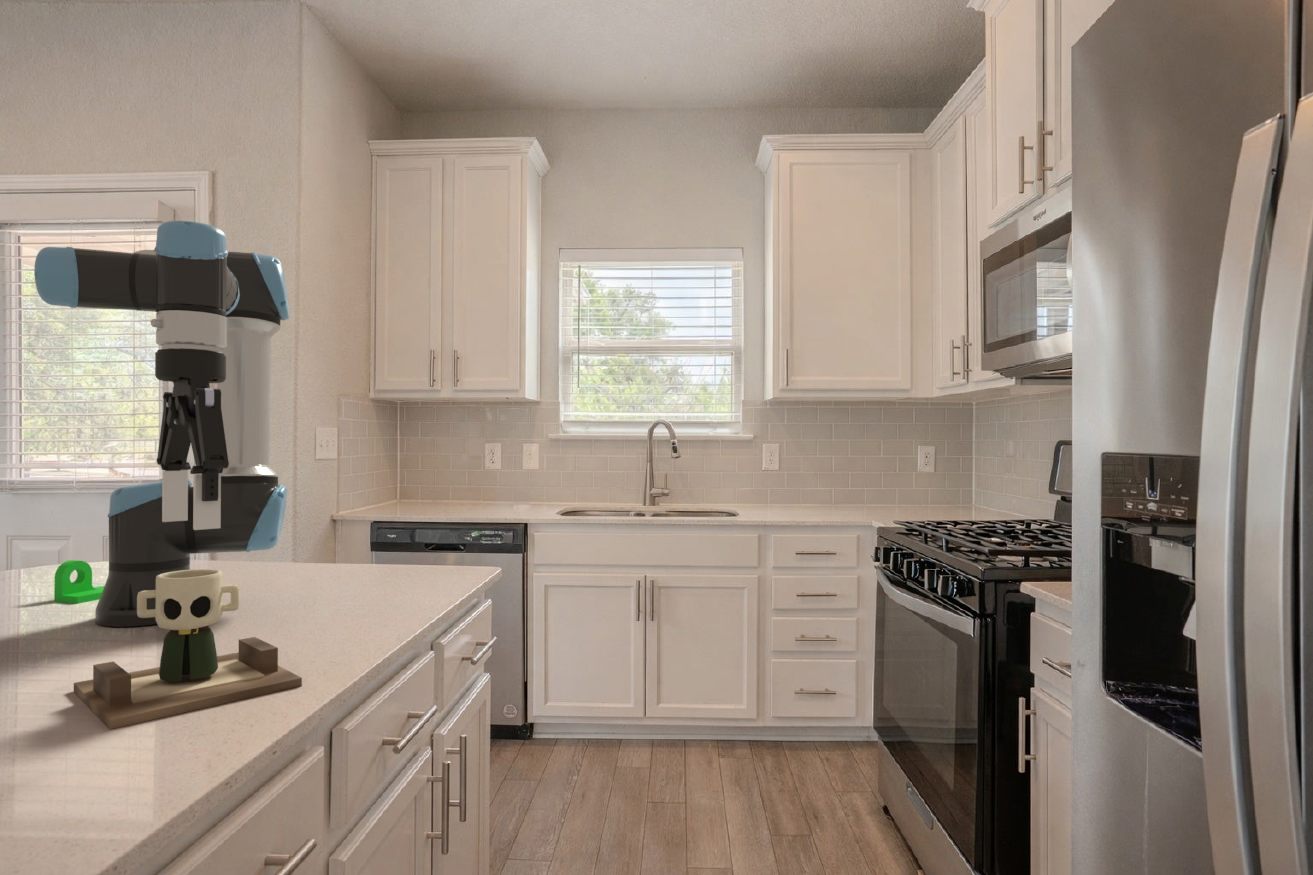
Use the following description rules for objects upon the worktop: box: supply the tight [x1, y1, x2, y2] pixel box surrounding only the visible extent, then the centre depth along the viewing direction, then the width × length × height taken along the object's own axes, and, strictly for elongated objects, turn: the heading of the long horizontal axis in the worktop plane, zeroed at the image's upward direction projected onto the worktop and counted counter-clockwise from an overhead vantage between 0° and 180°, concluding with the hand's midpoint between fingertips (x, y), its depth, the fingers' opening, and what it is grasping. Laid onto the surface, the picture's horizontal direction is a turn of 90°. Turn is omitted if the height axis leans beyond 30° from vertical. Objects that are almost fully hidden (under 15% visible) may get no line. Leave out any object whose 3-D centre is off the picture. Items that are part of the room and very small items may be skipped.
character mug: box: [137, 568, 240, 681], centre depth 95 cm, size 11×7×13 cm, turn 115°
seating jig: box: [73, 636, 303, 730], centre depth 95 cm, size 18×20×4 cm
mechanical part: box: [53, 559, 105, 605], centre depth 147 cm, size 12×6×8 cm, turn 162°
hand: (190, 525), depth 95 cm, fingers open, 12 cm apart
